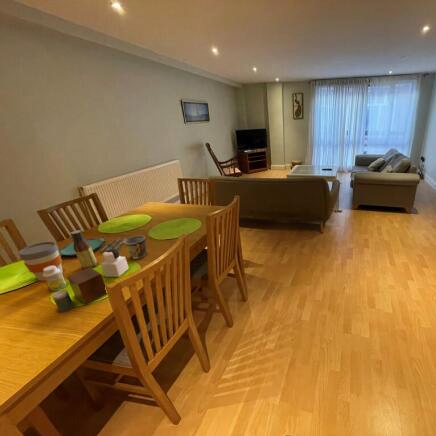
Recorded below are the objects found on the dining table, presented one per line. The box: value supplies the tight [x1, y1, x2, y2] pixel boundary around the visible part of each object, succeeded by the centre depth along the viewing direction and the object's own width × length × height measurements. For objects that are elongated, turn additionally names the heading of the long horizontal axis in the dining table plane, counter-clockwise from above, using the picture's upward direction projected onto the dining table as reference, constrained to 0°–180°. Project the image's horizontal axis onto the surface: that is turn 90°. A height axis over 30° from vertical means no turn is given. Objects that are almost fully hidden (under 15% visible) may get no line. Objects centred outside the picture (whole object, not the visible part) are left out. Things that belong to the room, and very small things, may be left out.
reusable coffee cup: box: [18, 241, 64, 282], centre depth 113 cm, size 13×13×15 cm
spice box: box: [66, 267, 108, 305], centre depth 100 cm, size 8×10×10 cm
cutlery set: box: [58, 237, 127, 258], centre depth 139 cm, size 20×30×2 cm, turn 101°
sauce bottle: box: [70, 229, 98, 270], centre depth 118 cm, size 6×6×20 cm
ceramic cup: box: [123, 235, 147, 260], centre depth 129 cm, size 13×10×10 cm
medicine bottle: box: [100, 248, 130, 278], centre depth 115 cm, size 7×7×12 cm
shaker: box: [52, 289, 74, 312], centre depth 94 cm, size 8×4×8 cm
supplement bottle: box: [43, 266, 67, 291], centre depth 105 cm, size 6×6×10 cm
